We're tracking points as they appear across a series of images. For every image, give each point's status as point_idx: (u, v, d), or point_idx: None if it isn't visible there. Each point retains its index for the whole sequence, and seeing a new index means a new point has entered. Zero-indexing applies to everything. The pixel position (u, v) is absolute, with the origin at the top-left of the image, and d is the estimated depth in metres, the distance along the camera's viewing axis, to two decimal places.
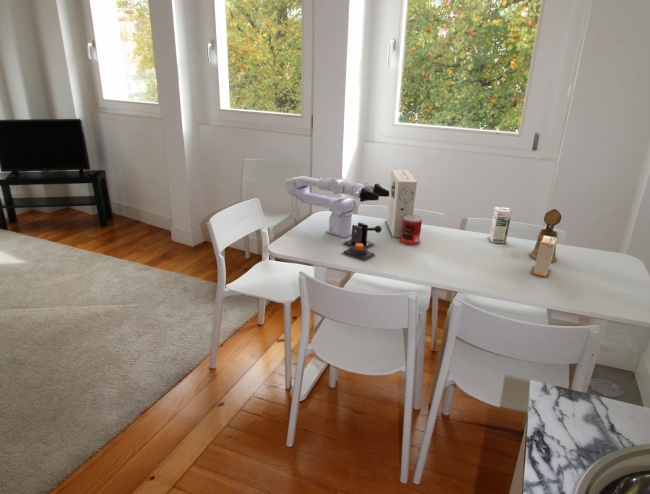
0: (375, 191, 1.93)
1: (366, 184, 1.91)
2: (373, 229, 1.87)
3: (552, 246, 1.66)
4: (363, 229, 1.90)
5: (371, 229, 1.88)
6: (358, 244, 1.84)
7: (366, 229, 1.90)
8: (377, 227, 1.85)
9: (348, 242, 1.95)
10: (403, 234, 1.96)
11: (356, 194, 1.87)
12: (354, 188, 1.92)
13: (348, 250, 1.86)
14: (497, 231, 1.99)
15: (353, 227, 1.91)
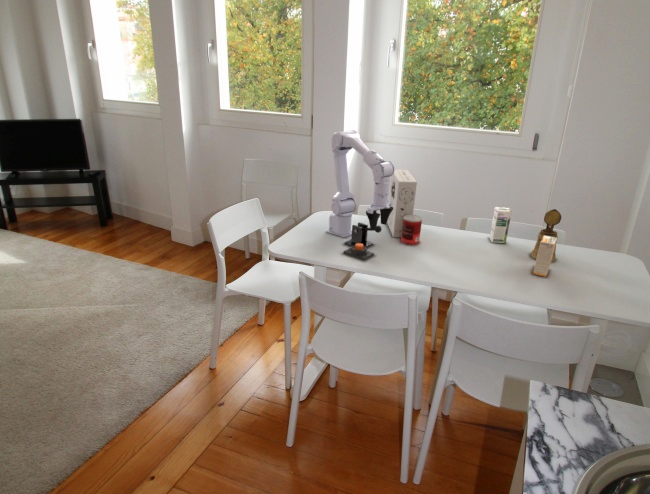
0: (384, 209, 1.86)
1: None
2: (373, 229, 1.87)
3: (552, 246, 1.66)
4: (363, 229, 1.90)
5: (371, 229, 1.88)
6: (358, 244, 1.84)
7: (366, 229, 1.90)
8: (377, 227, 1.85)
9: (348, 242, 1.95)
10: (403, 234, 1.96)
11: (370, 211, 1.77)
12: (380, 197, 1.78)
13: (348, 250, 1.86)
14: (497, 231, 1.99)
15: (353, 227, 1.91)
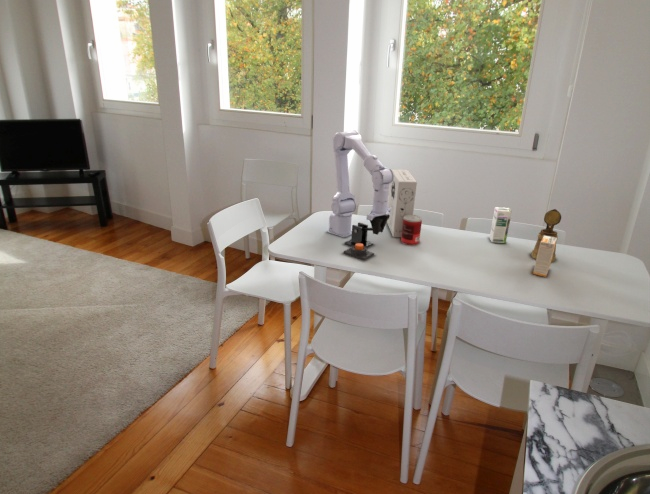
0: (380, 216, 1.85)
1: None
2: None
3: (552, 246, 1.66)
4: (363, 229, 1.90)
5: (371, 229, 1.88)
6: (358, 244, 1.84)
7: (366, 229, 1.90)
8: None
9: (348, 242, 1.95)
10: (403, 234, 1.96)
11: (369, 218, 1.78)
12: (379, 204, 1.79)
13: (348, 250, 1.86)
14: (497, 231, 1.99)
15: (353, 227, 1.91)
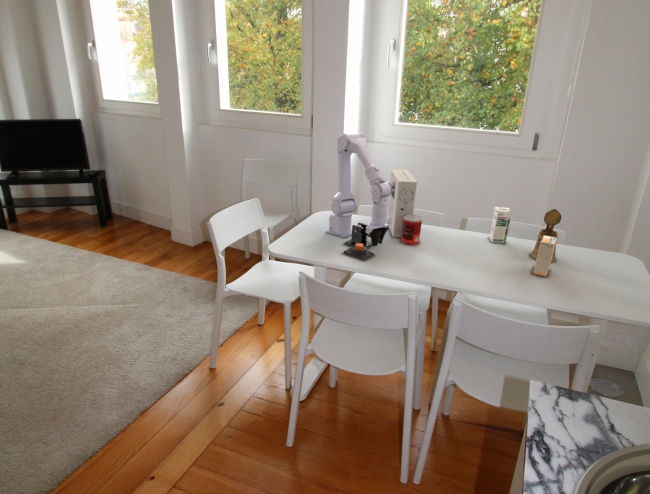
0: (379, 228, 1.87)
1: None
2: None
3: (552, 246, 1.66)
4: (363, 232, 1.91)
5: None
6: (358, 244, 1.84)
7: (365, 233, 1.90)
8: None
9: (348, 242, 1.95)
10: (403, 234, 1.96)
11: (368, 230, 1.80)
12: (378, 216, 1.81)
13: (348, 250, 1.86)
14: (497, 231, 1.99)
15: (353, 227, 1.91)
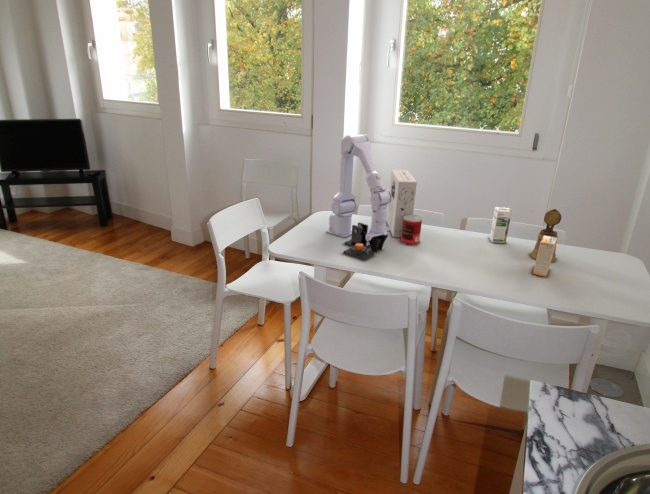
0: (379, 236, 1.89)
1: None
2: None
3: (552, 246, 1.66)
4: (362, 233, 1.91)
5: None
6: (358, 244, 1.84)
7: (364, 235, 1.91)
8: None
9: (348, 242, 1.95)
10: (403, 234, 1.96)
11: (368, 238, 1.82)
12: (377, 224, 1.83)
13: (348, 250, 1.86)
14: (497, 231, 1.99)
15: (353, 227, 1.91)
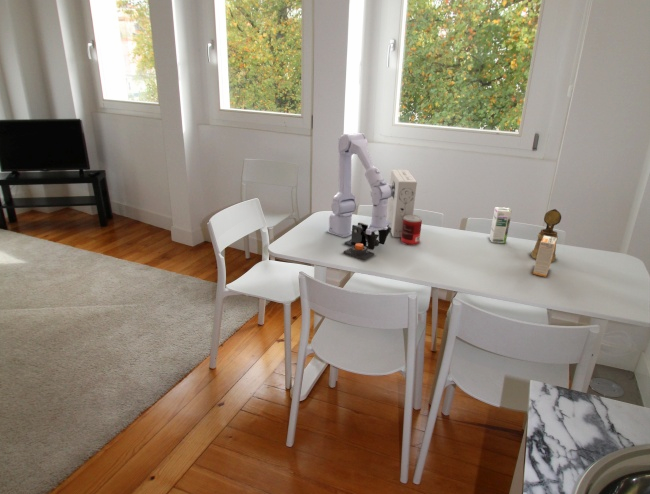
0: (382, 229, 1.89)
1: None
2: None
3: (552, 246, 1.66)
4: (362, 232, 1.91)
5: None
6: (358, 244, 1.84)
7: None
8: (376, 242, 1.88)
9: (348, 242, 1.95)
10: (403, 234, 1.96)
11: (368, 232, 1.81)
12: (378, 219, 1.82)
13: (348, 250, 1.86)
14: (497, 231, 1.99)
15: (353, 227, 1.91)
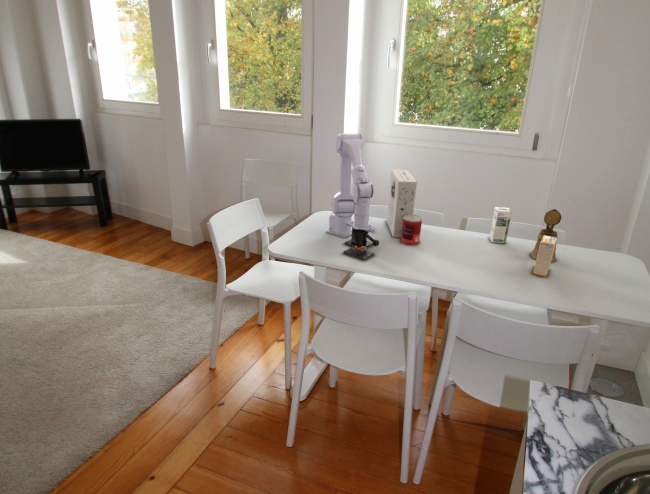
0: None
1: None
2: (371, 240, 1.89)
3: (552, 246, 1.66)
4: None
5: (369, 238, 1.90)
6: None
7: None
8: (376, 242, 1.88)
9: (348, 242, 1.95)
10: (403, 234, 1.96)
11: None
12: None
13: (348, 250, 1.86)
14: (497, 231, 1.99)
15: None
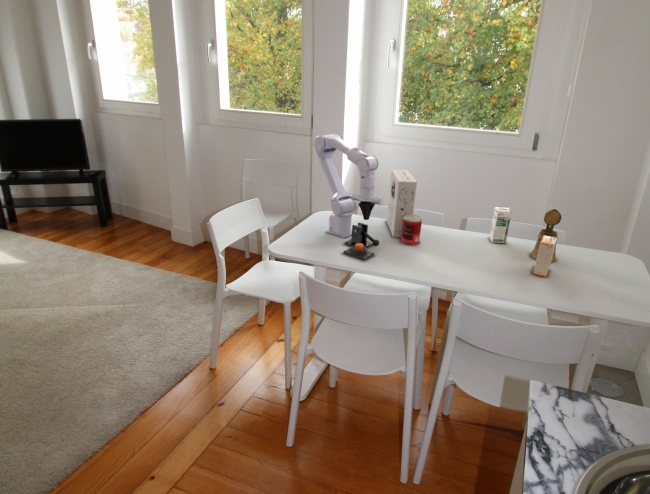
0: None
1: (362, 200, 1.88)
2: (371, 240, 1.89)
3: (552, 246, 1.66)
4: (362, 232, 1.91)
5: (369, 238, 1.90)
6: (358, 244, 1.84)
7: (365, 234, 1.91)
8: (376, 242, 1.88)
9: (348, 242, 1.95)
10: (403, 234, 1.96)
11: None
12: None
13: (348, 250, 1.86)
14: (497, 231, 1.99)
15: (353, 227, 1.91)
